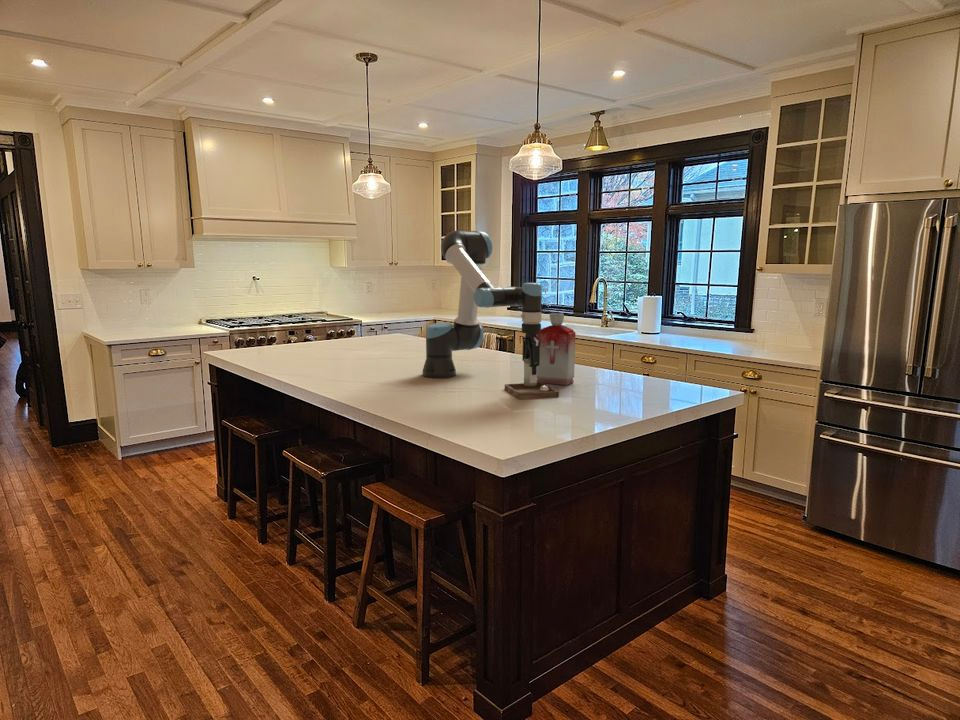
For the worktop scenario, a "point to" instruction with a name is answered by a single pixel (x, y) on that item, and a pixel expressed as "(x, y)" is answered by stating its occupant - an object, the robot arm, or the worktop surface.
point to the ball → (544, 389)
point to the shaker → (527, 372)
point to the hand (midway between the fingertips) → (530, 381)
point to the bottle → (556, 353)
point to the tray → (530, 391)
